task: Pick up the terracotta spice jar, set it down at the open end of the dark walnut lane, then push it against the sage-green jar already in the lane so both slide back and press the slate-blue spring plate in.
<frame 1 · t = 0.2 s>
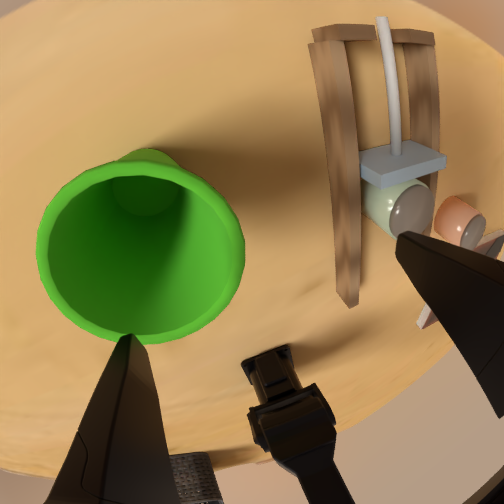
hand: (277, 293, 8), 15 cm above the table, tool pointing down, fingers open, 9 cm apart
picture frame: (461, 272, 44), on the table
pusher: (394, 93, 18), point 3 cm above the table, slide at 0.0 cm
storage bin: (155, 465, 54), on the table
jar: (446, 215, 32), on the table
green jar: (379, 190, 26), on the table
lane: (379, 171, 25), on the table
cup: (145, 181, 20), on the table
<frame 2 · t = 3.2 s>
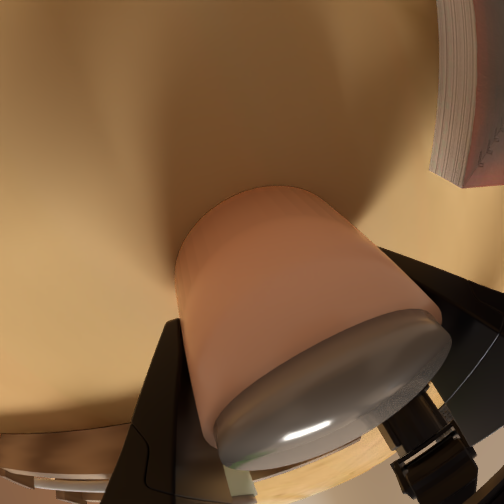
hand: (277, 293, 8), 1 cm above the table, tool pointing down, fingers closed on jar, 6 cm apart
picture frame: (501, 2, 5), on the table
pusher: (86, 488, 13), point 3 cm above the table, slide at 0.0 cm
jar: (266, 271, 9), on the table, touching gripper
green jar: (196, 443, 16), on the table
lane: (168, 450, 16), on the table
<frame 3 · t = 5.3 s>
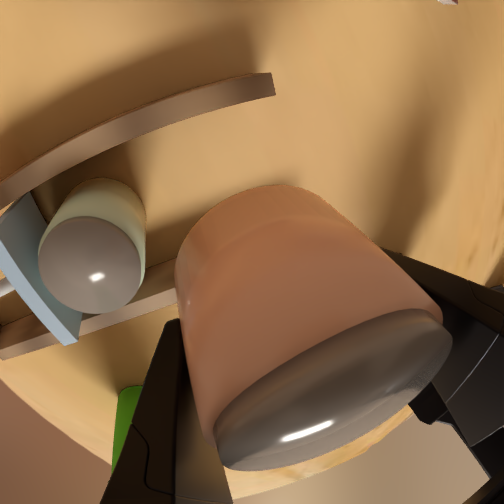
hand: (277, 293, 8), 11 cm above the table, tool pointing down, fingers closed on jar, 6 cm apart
jar: (266, 271, 9), point 10 cm above the table, touching gripper
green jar: (102, 221, 16), on the table
lane: (74, 234, 16), on the table
cup: (140, 395, 28), on the table
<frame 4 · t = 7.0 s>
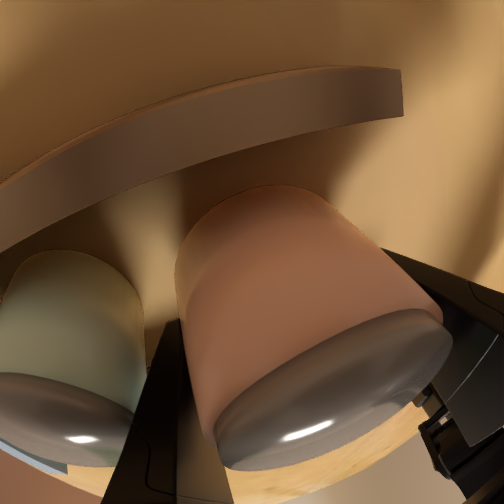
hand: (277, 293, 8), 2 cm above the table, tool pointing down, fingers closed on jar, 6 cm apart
jar: (266, 271, 9), point 1 cm above the table, touching gripper
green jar: (73, 312, 9), on the table, touching gripper
lane: (37, 326, 9), on the table
when the fingers open (2 cm above the table, at t = 7.5 s): jar drops 1 cm, on the table.
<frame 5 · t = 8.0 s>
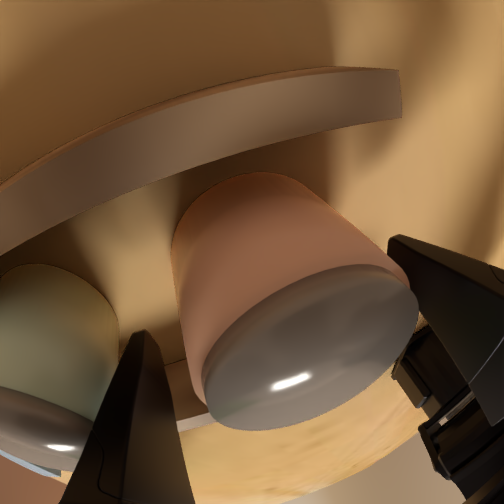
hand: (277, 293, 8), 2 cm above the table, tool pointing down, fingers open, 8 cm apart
jar: (253, 250, 10), on the table
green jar: (53, 323, 9), on the table, touching gripper
lane: (35, 330, 9), on the table
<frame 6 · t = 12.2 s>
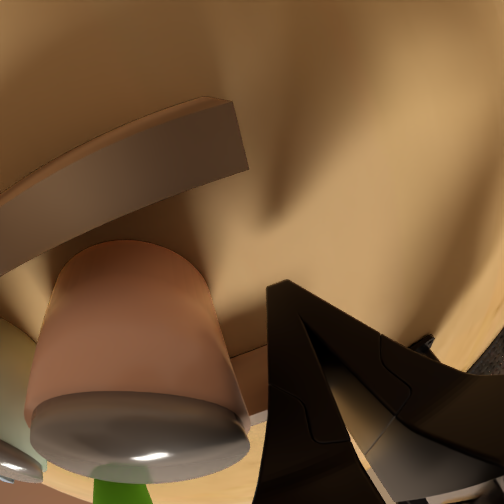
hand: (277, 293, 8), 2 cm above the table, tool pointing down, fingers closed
storage bin: (475, 366, 47), on the table
jar: (131, 312, 9), on the table, touching gripper
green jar: (0, 355, 8), on the table
cup: (118, 474, 20), on the table
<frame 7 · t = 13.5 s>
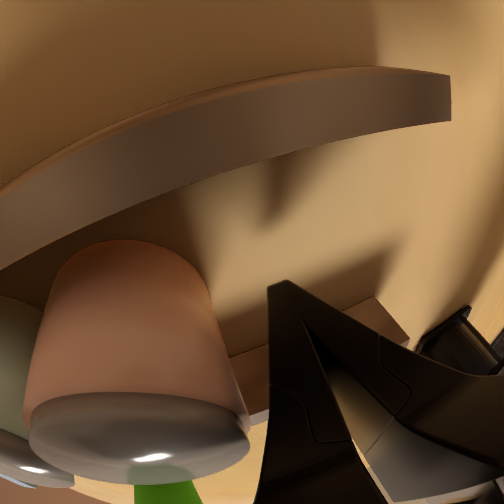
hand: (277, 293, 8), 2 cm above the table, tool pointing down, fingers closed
jar: (129, 312, 9), on the table, touching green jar, gripper
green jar: (20, 347, 8), on the table, touching jar, pusher
lane: (53, 337, 9), on the table
cup: (159, 469, 20), on the table
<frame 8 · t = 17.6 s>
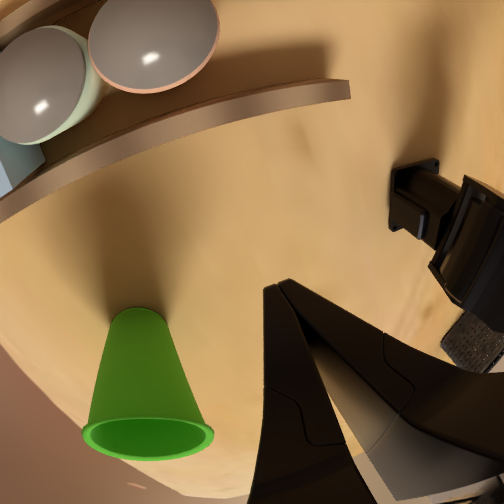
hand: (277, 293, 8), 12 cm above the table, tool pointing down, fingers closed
storage bin: (482, 302, 51), on the table
jar: (155, 46, 13), on the table
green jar: (65, 82, 12), on the table
lane: (100, 65, 12), on the table
cup: (139, 325, 24), on the table
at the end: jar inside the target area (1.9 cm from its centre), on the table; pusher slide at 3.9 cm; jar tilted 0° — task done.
